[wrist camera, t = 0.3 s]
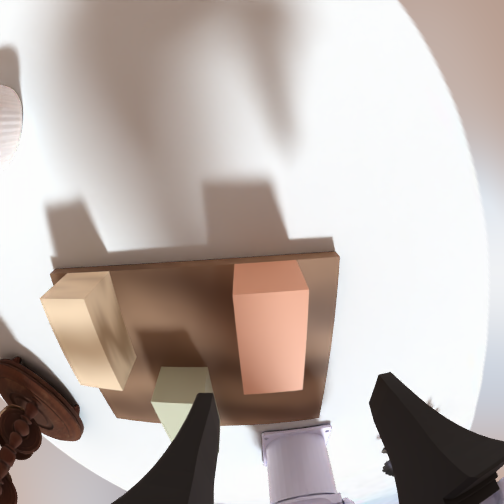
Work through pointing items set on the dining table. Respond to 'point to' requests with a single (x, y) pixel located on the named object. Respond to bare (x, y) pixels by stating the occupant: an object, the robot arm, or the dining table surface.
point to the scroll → (29, 419)
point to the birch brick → (90, 329)
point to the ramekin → (9, 124)
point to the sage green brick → (178, 395)
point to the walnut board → (213, 334)
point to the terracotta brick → (271, 325)
